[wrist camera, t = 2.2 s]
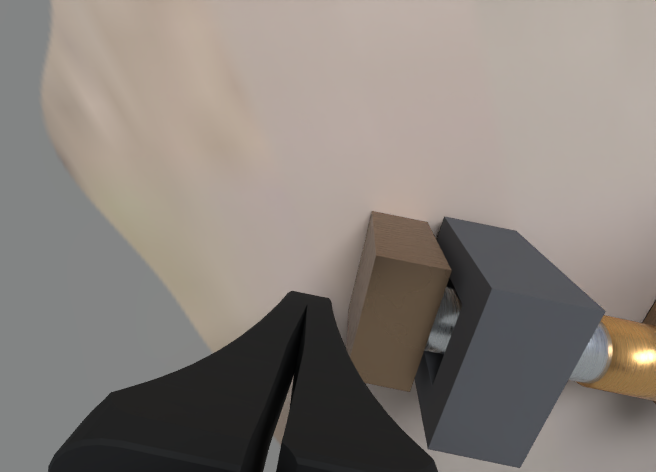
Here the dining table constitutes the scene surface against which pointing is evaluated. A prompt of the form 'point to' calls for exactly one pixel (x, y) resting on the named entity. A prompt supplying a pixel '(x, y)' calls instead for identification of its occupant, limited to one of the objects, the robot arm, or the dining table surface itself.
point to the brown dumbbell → (443, 310)
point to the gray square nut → (501, 345)
